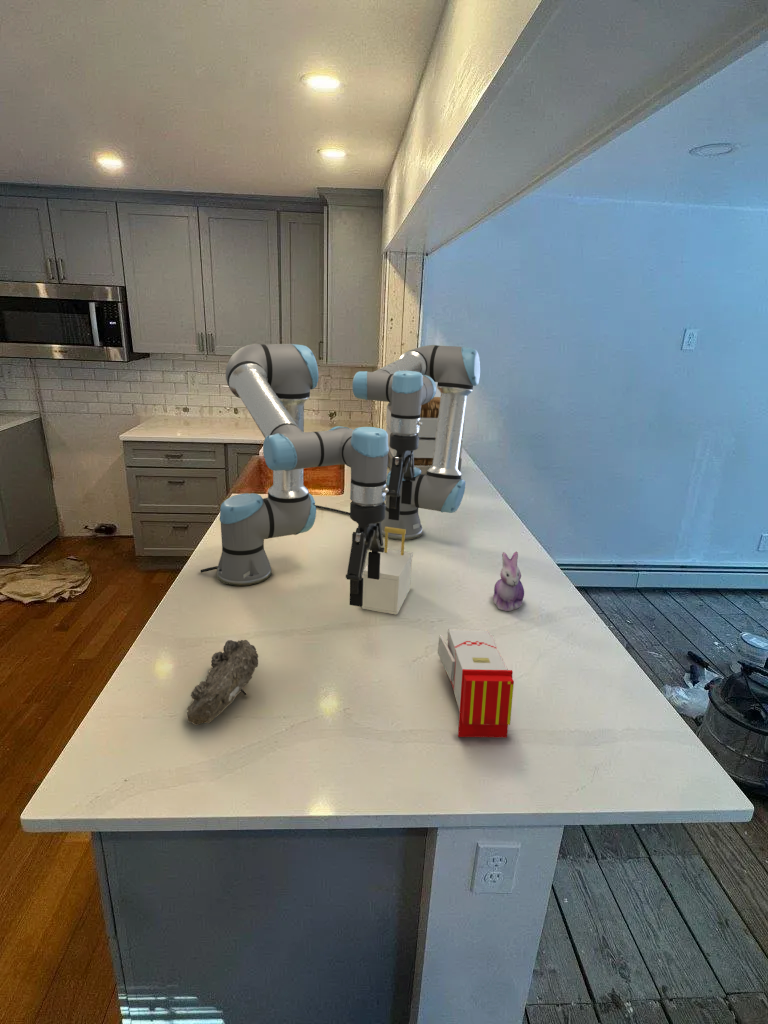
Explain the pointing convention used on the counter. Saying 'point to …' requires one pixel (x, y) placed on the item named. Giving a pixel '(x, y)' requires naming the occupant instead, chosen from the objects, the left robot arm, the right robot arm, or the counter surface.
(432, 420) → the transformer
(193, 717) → the fossil
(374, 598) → the chest
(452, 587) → the counter surface
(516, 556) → the figurine
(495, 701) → the toy
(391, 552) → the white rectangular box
